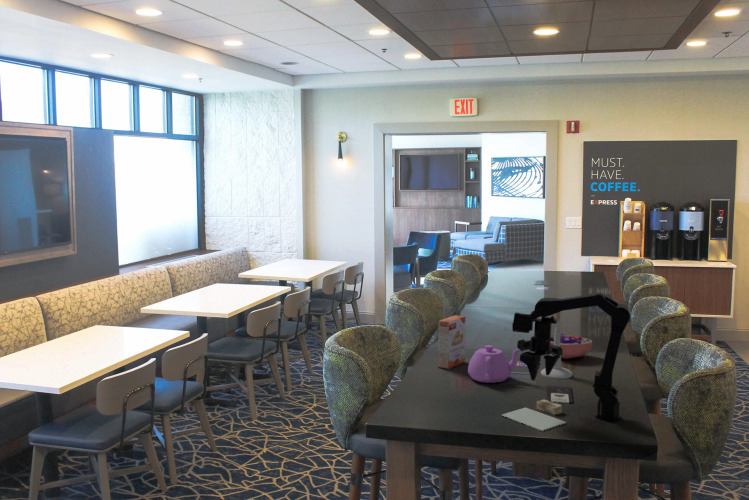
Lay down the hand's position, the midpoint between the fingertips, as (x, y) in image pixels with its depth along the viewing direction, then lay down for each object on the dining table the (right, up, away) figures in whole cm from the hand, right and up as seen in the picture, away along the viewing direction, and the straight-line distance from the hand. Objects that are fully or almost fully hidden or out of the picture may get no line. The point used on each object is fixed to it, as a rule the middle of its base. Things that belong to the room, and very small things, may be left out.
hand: (540, 377), depth 242 cm
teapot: (-9, -8, +38) cm, 40 cm away
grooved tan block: (+3, -12, +1) cm, 13 cm away
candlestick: (+17, -7, +44) cm, 48 cm away
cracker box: (-24, -6, +60) cm, 65 cm away
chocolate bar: (+12, -10, +18) cm, 24 cm away
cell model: (+29, -4, +68) cm, 74 cm away
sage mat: (-4, -13, -7) cm, 15 cm away
